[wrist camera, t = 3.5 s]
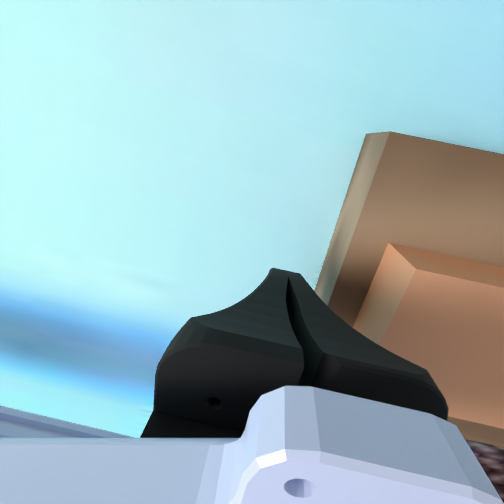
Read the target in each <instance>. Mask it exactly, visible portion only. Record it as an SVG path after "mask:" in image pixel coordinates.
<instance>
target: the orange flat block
mask: <svg viewBox="0 0 504 504" xmlns="http://www.w3.org/2000/svg"><path fill="white" fill-rule="evenodd" d="M353 328H354V329H355V330H357V331H358V332H360V333H361V334H362V335H364V336H365V337H367V338H368V339H370V340H371V341H373V342H375V343H376V344H378V345H380V346H381V347H383V348H385V349H387V350H388V351H390V352H392V353H394V354H396V355H398V356H400V357H402V358H404V359H406V360H408V361H410V362H412V363H414V364H416V365H418V366H420V367H422V368H424V369H426V370H427V371H428V372H429V374H430V375H431V377H432V379H433V380H434V382H435V383H436V385H437V386H438V388H439V390H440V391H441V393H442V394H443V396H444V398H445V400H446V403H447V405H448V408H449V410H448V416H449V417H454V418H458V419H462V420H467V421H471V422H476V423H480V424H484V425H489V426H493V427H497V428H502V429H504V267H501V266H496V265H491V264H486V263H482V262H477V261H472V260H468V259H463V258H458V257H454V256H449V255H444V254H439V253H435V252H430V251H425V250H421V249H416V248H411V247H407V246H402V245H397V244H392V243H388V245H387V248H386V250H385V252H384V255H383V257H382V259H381V262H380V264H379V266H378V269H377V271H376V274H375V276H374V278H373V281H372V283H371V285H370V288H369V290H368V293H367V295H366V297H365V300H364V302H363V304H362V307H361V309H360V312H359V314H358V316H357V319H356V321H355V323H354V326H353Z"/></svg>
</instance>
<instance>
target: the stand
mask: <svg viewBox="0 0 504 504" xmlns="http://www.w3.org/2000/svg"><path fill="white" fill-rule="evenodd" d="M388 243H392V244H397V245H402V246H407V247H411V248H416V249H421V250H425V251H430V252H435V253H439V254H444V255H449V256H454V257H458V258H463V259H468V260H472V261H477V262H482V263H486V264H491V265H496V266H501V267H504V154H499V153H494V152H489V151H484V150H479V149H474V148H469V147H464V146H459V145H454V144H449V143H444V142H439V141H434V140H430V139H425V138H420V137H415V136H410V135H405V134H400V133H395V132H381V133H371V134H366V136H365V139H364V142H363V145H362V148H361V151H360V154H359V157H358V160H357V163H356V166H355V169H354V173H353V176H352V179H351V182H350V185H349V188H348V191H347V194H346V197H345V200H344V203H343V206H342V209H341V212H340V215H339V218H338V221H337V224H336V227H335V230H334V233H333V237H332V240H331V243H330V246H329V249H328V252H327V255H326V258H325V261H324V264H323V267H322V270H321V273H320V276H319V279H318V282H317V285H316V288H315V291H314V292H315V293H316V294H317V295H318V296H319V297H320V298H321V300H322V301H323V302H324V303H325V304H326V305H327V306H328V307H329V308H330V309H331V310H332V311H333V312H334V313H335V314H337V315H338V316H339V317H340V318H341V319H342V320H344V321H345V322H346V323H347V324H349V325H350V326H351V327H352V328H353V326H354V323H355V321H356V319H357V316H358V314H359V312H360V309H361V307H362V304H363V302H364V300H365V297H366V295H367V293H368V290H369V288H370V285H371V283H372V281H373V278H374V276H375V274H376V271H377V269H378V266H379V264H380V262H381V259H382V257H383V255H384V252H385V250H386V248H387V245H388ZM447 421H448V422H450V423H452V424H454V425H456V426H457V428H458V429H459V431H460V432H461V434H462V436H463V437H464V439H469V440H473V441H477V442H482V443H486V444H490V445H495V446H499V447H503V448H504V429H502V428H497V427H493V426H489V425H484V424H480V423H476V422H471V421H467V420H462V419H458V418H454V417H449V416H448V420H447Z"/></svg>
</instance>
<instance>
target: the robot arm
mask: <svg viewBox="0 0 504 504" xmlns="http://www.w3.org/2000/svg"><path fill="white" fill-rule="evenodd" d="M448 410H449V408H448V405H447V403H446V400H445V398H444V396H443V394H442V393H441V391H440V390H439V388H438V386H437V385H436V383H435V382H434V380H433V379H432V377H431V375H430V374H429V372H428V371H427V370H426V369H424V368H422V367H420V366H418V365H416V364H414V363H412V362H410V361H408V360H406V359H404V358H402V357H400V356H398V355H396V354H394V353H392V352H390V351H388V350H387V349H385V348H383V347H381V346H380V345H378V344H376V343H375V342H373V341H371V340H370V339H368V338H367V337H365V336H364V335H362V334H361V333H360V332H358V331H357V330H355V329H354V328H352V327H351V326H350V325H349V324H347V323H346V322H345V321H344V320H342V319H341V318H340V317H339V316H338V315H337V314H335V313H334V312H333V311H332V310H331V309H330V308H329V307H328V306H327V305H326V304H325V303H324V302H323V301H322V300H321V298H320V297H319V296H318V295H317V294H316V293H315V292H314V290H313V289H312V288H311V287H310V285H309V284H308V283H307V282H306V280H305V279H304V278H303V277H302V275H301V274H299V273H295V272H290V271H285V270H281V269H276V268H272V269H270V271H269V274H268V275H267V277H266V278H265V279H264V281H263V282H262V283H261V284H260V285H259V286H258V287H257V288H256V289H255V290H254V291H253V292H252V293H251V294H250V295H248V296H247V297H246V298H244V299H243V300H241V301H240V302H238V303H236V304H234V305H233V306H231V307H229V308H226V309H223V310H221V311H218V312H215V313H211V314H206V315H202V316H197V317H192V318H190V319H189V320H188V321H187V322H186V324H185V325H184V326H183V327H182V328H181V329H180V331H179V332H178V333H177V334H176V336H175V337H174V338H173V340H172V341H171V342H170V344H169V346H168V347H167V349H166V351H165V353H164V354H163V356H162V358H161V360H160V362H159V363H158V366H157V370H156V374H155V390H154V409H153V412H152V414H151V416H150V418H149V420H148V422H147V425H146V427H145V429H144V431H143V433H142V435H141V437H140V438H134V437H130V436H126V435H122V434H118V433H113V432H109V431H105V430H101V429H97V428H92V427H88V426H84V425H80V424H76V423H71V422H67V421H63V420H59V419H55V418H50V417H46V416H42V415H38V414H34V413H29V412H25V411H21V410H17V409H13V408H8V407H4V406H0V504H504V503H503V501H502V500H501V498H500V496H499V495H498V493H497V491H496V490H495V488H494V486H493V485H492V483H491V482H490V480H489V478H488V477H487V475H486V473H485V472H484V470H483V468H482V467H481V465H480V464H479V462H478V460H477V459H476V457H475V455H474V454H473V452H472V450H471V449H470V447H469V446H468V444H467V442H466V441H465V439H464V437H463V436H462V434H461V432H460V431H459V429H458V428H457V426H456V425H454V424H452V423H450V422H448V421H447V420H448Z"/></svg>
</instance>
